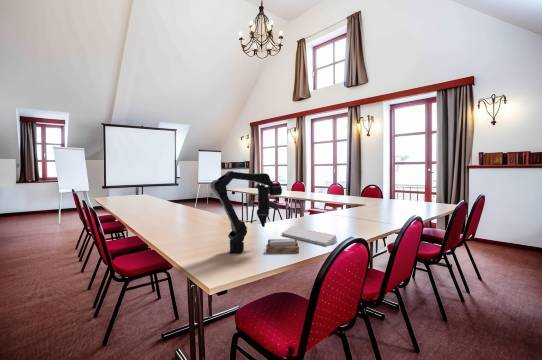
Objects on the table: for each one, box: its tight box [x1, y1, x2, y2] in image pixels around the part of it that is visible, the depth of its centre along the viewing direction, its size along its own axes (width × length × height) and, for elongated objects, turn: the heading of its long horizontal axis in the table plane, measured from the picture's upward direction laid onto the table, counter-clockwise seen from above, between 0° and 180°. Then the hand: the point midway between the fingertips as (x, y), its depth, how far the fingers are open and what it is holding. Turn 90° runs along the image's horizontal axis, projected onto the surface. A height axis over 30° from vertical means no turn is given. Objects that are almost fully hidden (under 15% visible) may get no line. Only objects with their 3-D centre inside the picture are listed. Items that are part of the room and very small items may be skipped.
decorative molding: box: [281, 226, 338, 247], centre depth 164 cm, size 34×5×10 cm
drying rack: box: [266, 238, 300, 254], centre depth 145 cm, size 16×16×3 cm
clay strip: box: [270, 238, 296, 247], centre depth 141 cm, size 13×4×4 cm, turn 97°
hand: (263, 225), depth 148 cm, fingers open, 9 cm apart
